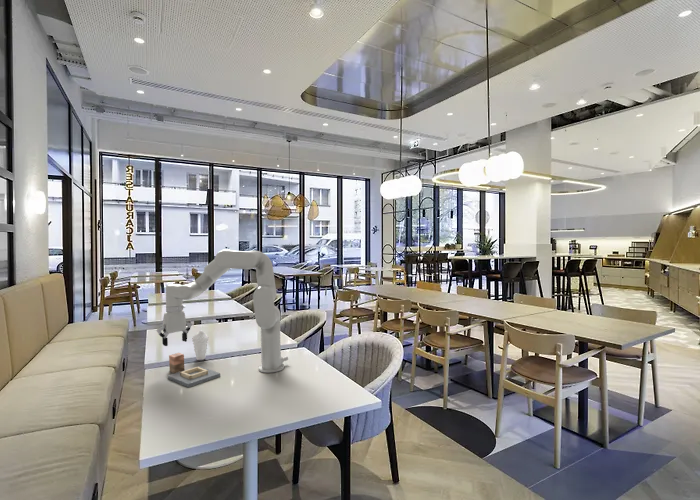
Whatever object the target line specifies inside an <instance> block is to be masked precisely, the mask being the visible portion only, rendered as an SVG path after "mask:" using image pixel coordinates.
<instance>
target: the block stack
mask: <svg viewBox="0 0 700 500" xmlns="http://www.w3.org/2000/svg"><path fill="white" fill-rule="evenodd" d="M168 361H169V364H168V365H169V372H171V373H172V374H175V373H178V372H181V371H184V370H186V369H185V355H184V353H181V352H177V353H173V354H169V355H168Z"/></svg>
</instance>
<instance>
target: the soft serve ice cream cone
mask: <svg viewBox="0 0 700 500" xmlns="http://www.w3.org/2000/svg"><path fill="white" fill-rule="evenodd" d="M191 340H192V344H193V351H194V355H195V358H196V360H197V361H203V360H205V359H206V354H207V350H208V341H209V336H208V335H207V334H206V333H205V331H204V330H203V329H200V330H199V331H198V332H197V333H196V334H194V335H193V336H192V339H191Z"/></svg>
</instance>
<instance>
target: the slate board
mask: <svg viewBox="0 0 700 500" xmlns="http://www.w3.org/2000/svg"><path fill="white" fill-rule="evenodd" d="M167 377H168V378H167V379H168V380H170V381H172V382H175V383H177V384H179V385H182V386H184V387H186V388H191V387H193V386H197V385H200V384H202V383H205V382H208V381H211V380H213V379H217V378H220V377H221V373H220V372H217V371H215V370H212V369H209V368H207V367H203V366H201V365H198V366H195V367H191V368H188V369H185V370H184V371H181V372H177V373H172V374H169V375H167Z"/></svg>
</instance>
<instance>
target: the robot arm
mask: <svg viewBox="0 0 700 500" xmlns="http://www.w3.org/2000/svg"><path fill="white" fill-rule="evenodd" d="M230 269H234V270H236V269H237V270H252V269H255V271H256V272H255V273H256V281H257V283H256V284H257V285H256V286H257V288H256V289H255V290H254V292H253V296H252V299H253V300H252V301H253V310H254V318H255V319H254V320H255V323H256V324H257V326H258V327H259V328H260V355H261V359H260V360H261V364H260V365H259V366H258V369H257V370H258V371H259V372H261V373H266V374H267V373H269V374H271V373H277V372H280V371H282V370H284V369H285V364H284V362H286V361H288V360H289V357H288V356H283V357H282V351H281V350H282V349H281V347H282V345H281V322H282V321H281V318H282V317H281V315H282V314H281V311H280V309H279V308H278V307H277V306H276V305H275V299H276V298H277V294H278V293H277V287H276V279H275V273H274V267H273V263H272V260H271V259H270V257H269V256H268V255H267V254H266V253H264V252H262V251H259V250H248V251H247V250H246V251H243V250H233V249H222V250H220V251H218V252H217V253H216V254H215V257H214V259H213V260H212V261H210V262H209V263H208V264H207V265H205V267H204V268H203V272H202V273H201V274H200V275H199V276H198V277H197V278H196V279H195V280H193V281H192V282H190V283H187V284H180V283H171V284H167V285H166V287H165V312H164V313H163V318H162V326H160V327H159V328H158V329H156V332H157V334H158V335H159V336H160V337H161V341H162V345H163V346H164V347H168V345H169V344H168V343H169V342H168V340H169V339H168V335H169V334H173V333H179V332H182V334H181V337H182V338H181V341H182V342H187V341H188V333H189V331H190V330H191V328H192V325H193V324H192V323H191V322H189V321H187V319H186V318H187V317H186V314H185V311H184V309H185V308H186V305H184V304H183V301H188V300H192V299H195V298H198V297H199V296H200V295H202V294H203V293H204V292H205V291H207V290H208V289H209V288H210V287H211V286H213V284H214V283H216V282H217V280H218V279H220V278H221V277H222V276H223V275H225V274H226V273H227V272H228V271H229V270H230Z"/></svg>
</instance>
